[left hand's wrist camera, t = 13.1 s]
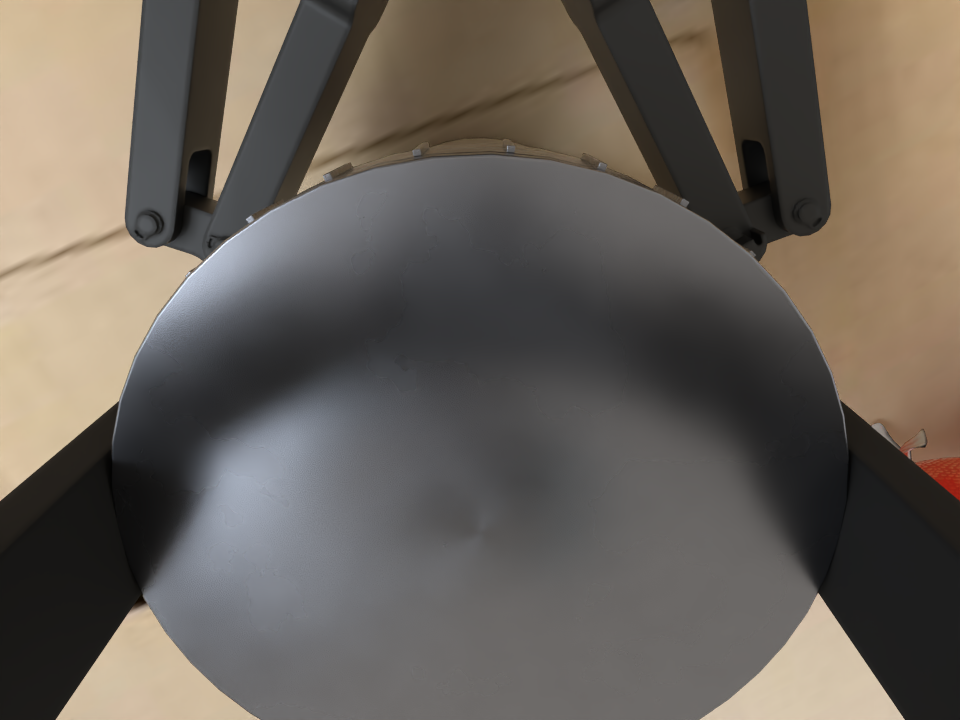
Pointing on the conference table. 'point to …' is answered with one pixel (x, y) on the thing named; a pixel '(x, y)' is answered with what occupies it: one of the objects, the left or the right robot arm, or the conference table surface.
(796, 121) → the right robot arm
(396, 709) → the lid
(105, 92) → the conference table surface
